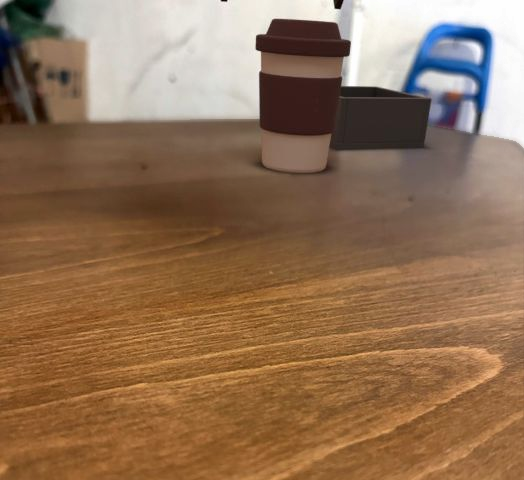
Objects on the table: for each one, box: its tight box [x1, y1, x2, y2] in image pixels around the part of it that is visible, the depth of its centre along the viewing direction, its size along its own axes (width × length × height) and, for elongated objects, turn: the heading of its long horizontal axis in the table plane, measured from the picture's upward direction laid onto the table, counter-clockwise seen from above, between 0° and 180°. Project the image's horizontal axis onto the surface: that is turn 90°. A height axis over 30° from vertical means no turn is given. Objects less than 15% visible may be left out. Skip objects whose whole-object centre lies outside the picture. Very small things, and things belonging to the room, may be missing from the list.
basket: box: [329, 85, 432, 151], centre depth 93 cm, size 14×14×6 cm
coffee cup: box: [254, 18, 352, 174], centre depth 72 cm, size 10×10×15 cm
